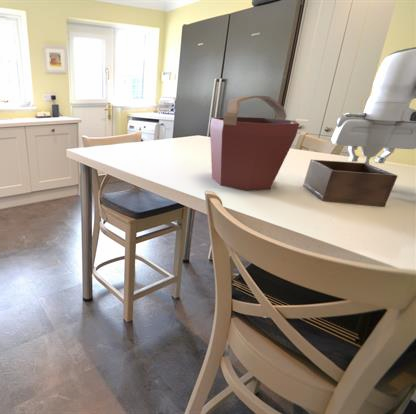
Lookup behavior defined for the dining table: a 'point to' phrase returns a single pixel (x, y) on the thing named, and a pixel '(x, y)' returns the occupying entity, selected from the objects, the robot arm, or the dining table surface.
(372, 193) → the bin
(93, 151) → the dining table surface
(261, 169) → the bucket
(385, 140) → the chalice
